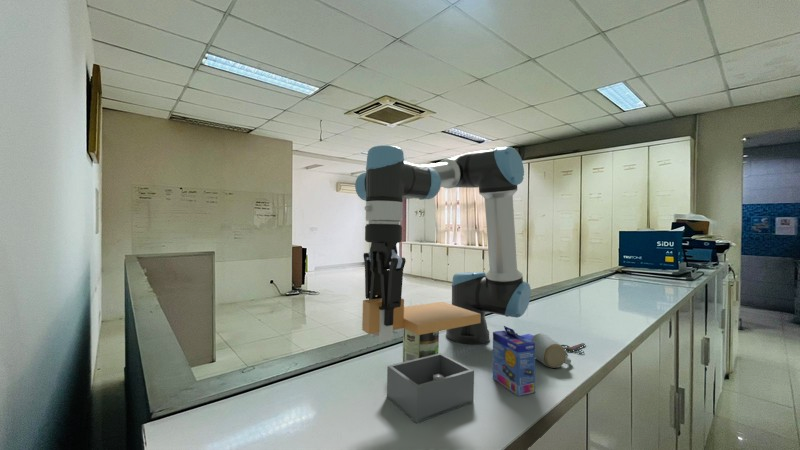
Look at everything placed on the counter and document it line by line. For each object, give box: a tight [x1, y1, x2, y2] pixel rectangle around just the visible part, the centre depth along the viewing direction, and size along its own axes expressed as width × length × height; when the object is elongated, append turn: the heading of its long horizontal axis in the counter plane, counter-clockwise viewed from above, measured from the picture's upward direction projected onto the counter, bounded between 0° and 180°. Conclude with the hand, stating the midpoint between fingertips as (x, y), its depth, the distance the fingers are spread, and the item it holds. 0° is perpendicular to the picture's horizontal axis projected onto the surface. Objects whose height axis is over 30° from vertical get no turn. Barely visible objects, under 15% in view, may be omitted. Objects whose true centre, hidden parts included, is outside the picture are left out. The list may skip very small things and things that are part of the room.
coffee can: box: [402, 328, 440, 362], centre depth 91 cm, size 10×10×14 cm
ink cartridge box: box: [492, 325, 536, 397], centre depth 81 cm, size 10×6×14 cm, turn 21°
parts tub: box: [386, 352, 475, 424], centre depth 73 cm, size 16×12×7 cm
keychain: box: [560, 342, 586, 356], centre depth 106 cm, size 8×18×2 cm, turn 124°
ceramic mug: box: [531, 332, 572, 369], centre depth 95 cm, size 11×8×8 cm
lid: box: [361, 297, 481, 335], centre depth 71 cm, size 25×13×6 cm, turn 123°
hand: (381, 337), depth 66 cm, fingers closed on lid, 3 cm apart
